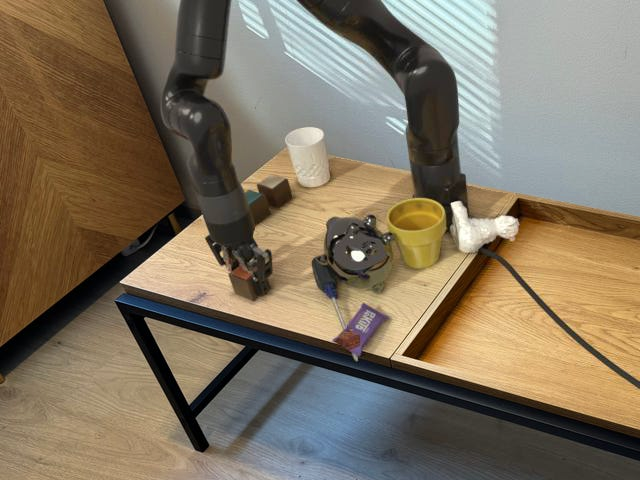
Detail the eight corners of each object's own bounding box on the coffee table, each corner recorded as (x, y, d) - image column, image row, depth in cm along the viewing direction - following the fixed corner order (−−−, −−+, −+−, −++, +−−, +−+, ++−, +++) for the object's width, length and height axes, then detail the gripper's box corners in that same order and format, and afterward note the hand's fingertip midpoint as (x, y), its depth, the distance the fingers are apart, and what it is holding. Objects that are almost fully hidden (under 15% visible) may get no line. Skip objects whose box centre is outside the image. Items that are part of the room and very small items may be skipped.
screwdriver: (364, 365, 129) (378, 348, 128) (347, 358, 127) (361, 342, 126) (318, 273, 146) (330, 257, 145) (302, 265, 144) (315, 250, 143)
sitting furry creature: (449, 229, 152) (509, 218, 154) (459, 267, 149) (521, 255, 151) (450, 199, 144) (514, 188, 146) (461, 239, 140) (527, 227, 142)
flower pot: (420, 283, 142) (415, 238, 135) (381, 260, 147) (374, 216, 140) (460, 255, 147) (457, 210, 140) (421, 234, 152) (416, 190, 146)
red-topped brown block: (270, 287, 144) (264, 266, 140) (253, 301, 141) (246, 280, 138) (252, 279, 146) (245, 259, 142) (235, 293, 143) (227, 273, 140)
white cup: (288, 184, 168) (277, 142, 161) (310, 166, 173) (300, 124, 166) (318, 192, 165) (308, 149, 158) (340, 173, 170) (331, 130, 163)
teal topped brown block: (271, 214, 161) (265, 194, 157) (255, 225, 158) (249, 205, 155) (254, 208, 163) (248, 188, 159) (239, 219, 160) (232, 199, 157)
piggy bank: (320, 206, 132) (295, 253, 139) (383, 269, 130) (354, 313, 137) (361, 190, 140) (336, 235, 148) (421, 249, 139) (392, 291, 146)
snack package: (364, 298, 135) (390, 313, 135) (361, 306, 136) (387, 321, 136) (333, 336, 126) (360, 352, 126) (330, 344, 127) (357, 360, 127)
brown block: (293, 197, 165) (287, 178, 161) (278, 209, 162) (272, 189, 159) (276, 192, 166) (271, 172, 163) (261, 203, 164) (256, 183, 161)
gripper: (273, 208, 131) (296, 289, 142) (211, 187, 137) (238, 266, 148) (240, 233, 126) (267, 314, 138) (178, 209, 132) (209, 289, 144)
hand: (252, 289), depth 143 cm, fingers closed on red-topped brown block, 4 cm apart
